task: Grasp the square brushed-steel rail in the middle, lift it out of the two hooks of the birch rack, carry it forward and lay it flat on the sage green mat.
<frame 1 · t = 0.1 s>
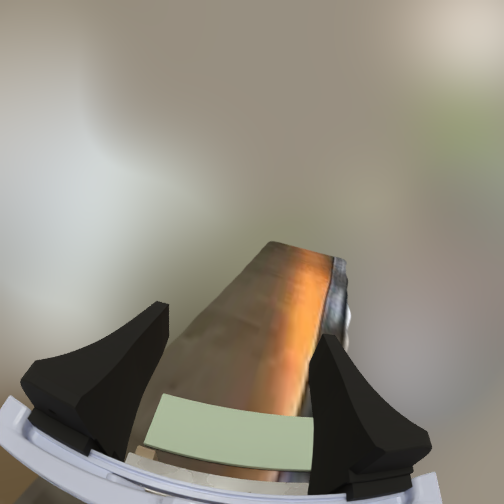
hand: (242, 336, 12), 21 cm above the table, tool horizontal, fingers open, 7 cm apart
rail: (245, 503, 15), point 4 cm above the table, touching rack
mat: (246, 439, 26), on the table
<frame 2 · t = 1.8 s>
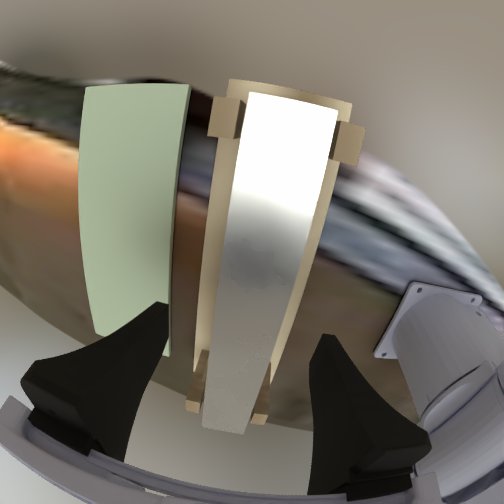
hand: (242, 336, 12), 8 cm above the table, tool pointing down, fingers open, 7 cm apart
rail: (250, 300, 15), point 4 cm above the table, touching rack
mat: (124, 235, 19), on the table
rack: (256, 262, 19), on the table
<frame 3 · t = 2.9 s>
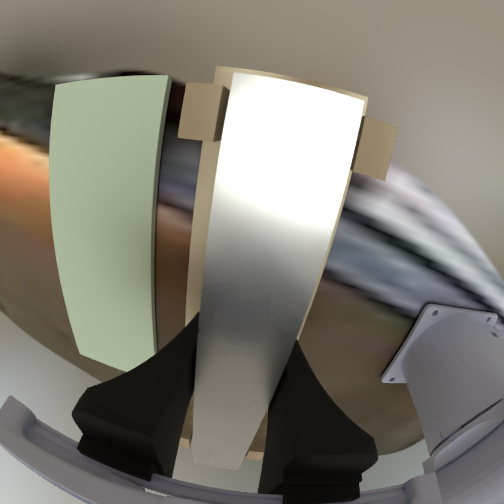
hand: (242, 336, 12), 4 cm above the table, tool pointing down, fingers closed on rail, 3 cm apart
rail: (242, 338, 12), point 4 cm above the table, touching gripper, rack
mat: (101, 253, 16), on the table
rack: (250, 286, 16), on the table
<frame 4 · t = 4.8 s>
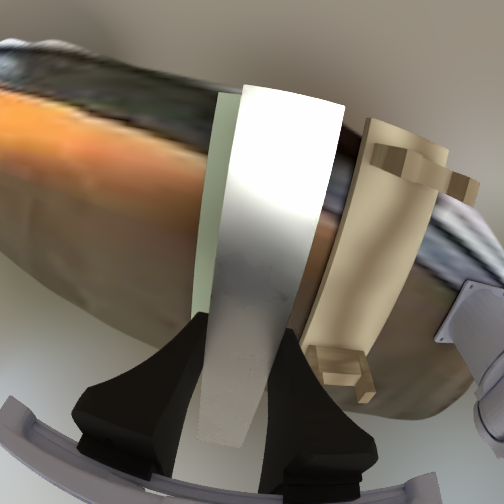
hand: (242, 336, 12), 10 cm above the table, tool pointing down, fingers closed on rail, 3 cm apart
rail: (246, 312, 14), point 9 cm above the table, touching gripper
mat: (249, 243, 22), on the table
rack: (366, 267, 22), on the table
when the fingers open (2 cm above the table, at t = 7.3 s): rail stays where it is, resting on mat.
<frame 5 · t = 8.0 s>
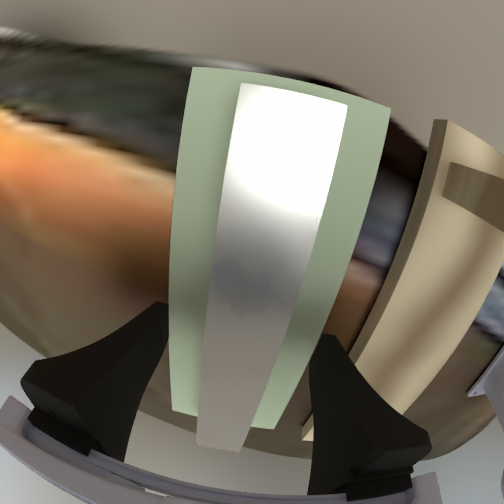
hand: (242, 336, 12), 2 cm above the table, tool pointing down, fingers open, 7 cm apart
rail: (245, 317, 14), point 1 cm above the table, touching mat
mat: (246, 311, 14), on the table
rack: (410, 334, 14), on the table
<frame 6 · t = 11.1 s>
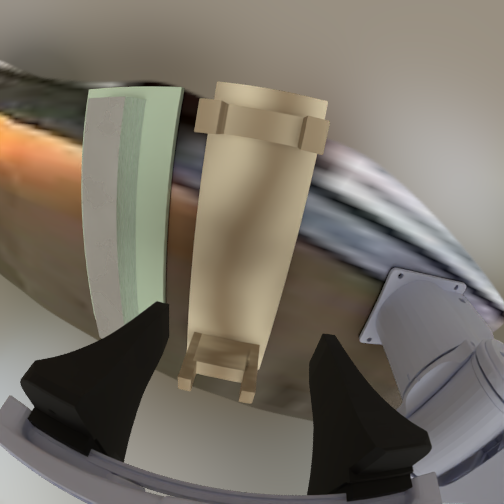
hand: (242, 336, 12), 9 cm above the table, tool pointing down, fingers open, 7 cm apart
rail: (119, 227, 20), point 1 cm above the table, touching mat
mat: (123, 225, 21), on the table
rack: (243, 248, 21), on the table
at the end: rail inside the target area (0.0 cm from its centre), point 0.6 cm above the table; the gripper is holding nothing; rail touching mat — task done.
